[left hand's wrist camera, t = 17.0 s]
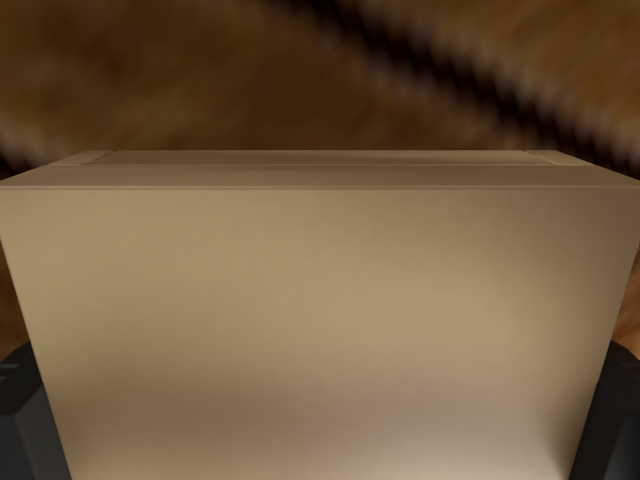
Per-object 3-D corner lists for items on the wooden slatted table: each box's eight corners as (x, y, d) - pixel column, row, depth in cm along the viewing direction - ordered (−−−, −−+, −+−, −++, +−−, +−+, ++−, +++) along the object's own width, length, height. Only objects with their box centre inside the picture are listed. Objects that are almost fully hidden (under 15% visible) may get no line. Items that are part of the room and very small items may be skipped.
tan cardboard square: (488, 487, 13) (533, 603, 10) (152, 487, 13) (106, 602, 10) (555, 149, 9) (658, 185, 6) (84, 149, 9) (-18, 185, 6)
